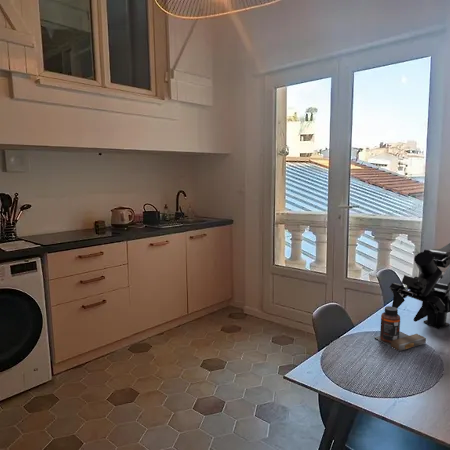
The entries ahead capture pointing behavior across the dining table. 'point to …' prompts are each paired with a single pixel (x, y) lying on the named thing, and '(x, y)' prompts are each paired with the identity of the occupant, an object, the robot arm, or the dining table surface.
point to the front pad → (390, 343)
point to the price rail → (408, 342)
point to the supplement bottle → (390, 324)
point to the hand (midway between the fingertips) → (402, 316)
